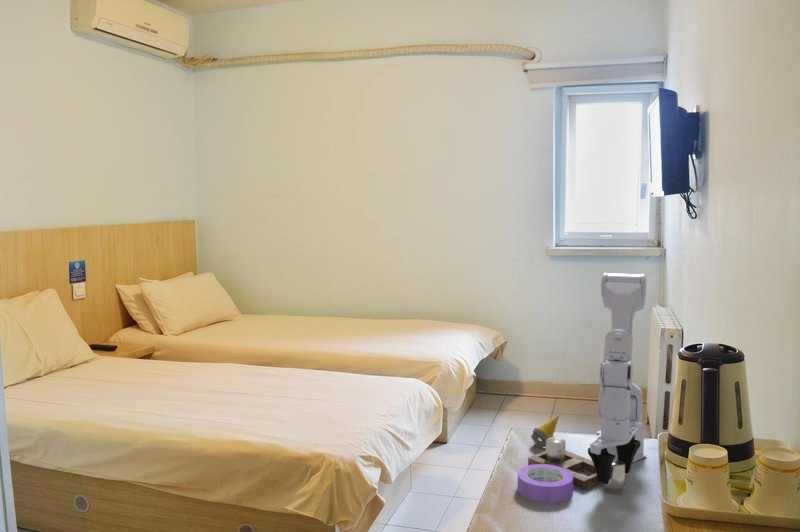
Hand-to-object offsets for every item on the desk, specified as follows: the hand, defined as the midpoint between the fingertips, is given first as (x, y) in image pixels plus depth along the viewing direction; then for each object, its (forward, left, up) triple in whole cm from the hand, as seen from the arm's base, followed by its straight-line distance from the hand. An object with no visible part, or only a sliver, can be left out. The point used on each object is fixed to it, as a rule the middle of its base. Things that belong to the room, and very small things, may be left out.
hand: (613, 477), depth 152 cm
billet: (0, 0, -3) cm, 3 cm away
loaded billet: (0, -16, -3) cm, 16 cm away
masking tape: (+11, -9, -3) cm, 15 cm away
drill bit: (-8, -27, -3) cm, 28 cm away
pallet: (0, -12, -3) cm, 12 cm away
